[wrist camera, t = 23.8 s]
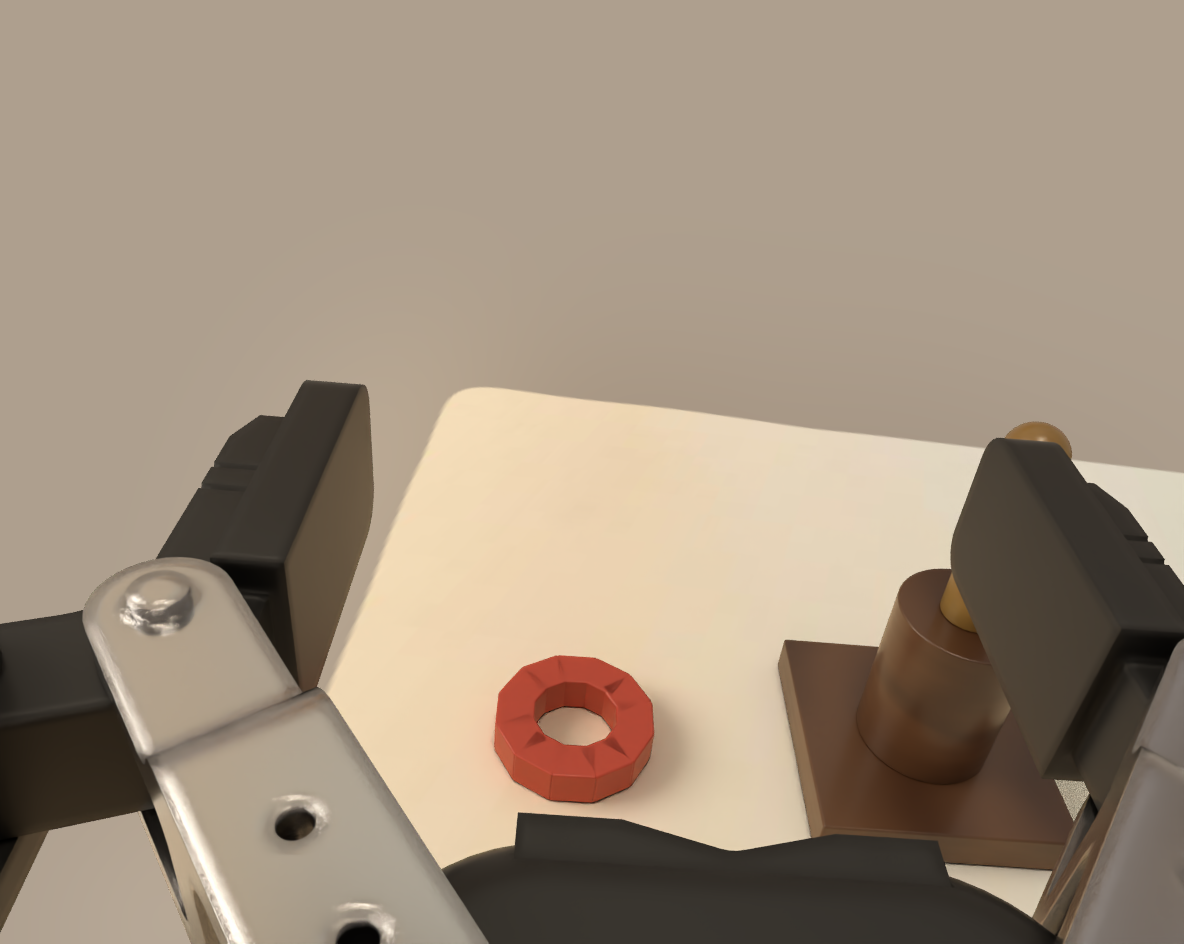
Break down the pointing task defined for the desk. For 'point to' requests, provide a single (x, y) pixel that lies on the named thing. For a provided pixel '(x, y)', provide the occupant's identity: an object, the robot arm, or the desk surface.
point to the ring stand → (921, 733)
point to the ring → (573, 766)
